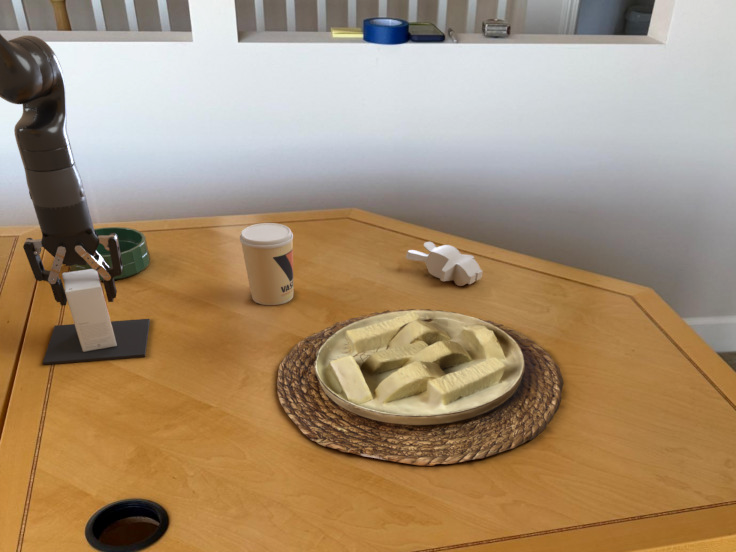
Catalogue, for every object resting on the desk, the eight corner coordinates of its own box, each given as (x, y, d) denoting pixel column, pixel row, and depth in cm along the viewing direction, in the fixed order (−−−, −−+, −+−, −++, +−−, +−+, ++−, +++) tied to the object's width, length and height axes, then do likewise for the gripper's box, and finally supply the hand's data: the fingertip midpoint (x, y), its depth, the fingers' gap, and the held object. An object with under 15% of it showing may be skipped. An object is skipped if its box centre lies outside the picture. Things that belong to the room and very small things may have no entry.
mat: (43, 365, 125) (42, 362, 124) (55, 328, 134) (54, 325, 134) (145, 357, 127) (144, 354, 127) (149, 321, 137) (149, 318, 136)
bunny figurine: (463, 273, 143) (402, 243, 149) (459, 298, 146) (399, 268, 153) (493, 258, 148) (433, 229, 154) (488, 282, 152) (430, 254, 158)
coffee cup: (290, 309, 140) (284, 243, 132) (241, 305, 141) (232, 239, 133) (303, 287, 147) (298, 223, 139) (256, 284, 148) (248, 220, 140)
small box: (117, 347, 128) (101, 286, 121) (82, 353, 127) (64, 292, 120) (112, 326, 134) (97, 267, 127) (78, 331, 132) (61, 272, 125)
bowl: (66, 285, 147) (58, 259, 144) (76, 253, 158) (69, 229, 155) (148, 279, 149) (142, 254, 146) (152, 249, 161) (147, 224, 157)
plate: (576, 333, 134) (582, 296, 129) (539, 495, 103) (546, 455, 98) (331, 301, 143) (329, 266, 138) (228, 441, 111) (220, 402, 107)
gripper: (110, 185, 119) (134, 289, 130) (12, 190, 117) (45, 295, 128) (106, 202, 113) (131, 308, 124) (2, 208, 111) (37, 315, 122)
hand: (87, 301), depth 126 cm, fingers open, 7 cm apart
